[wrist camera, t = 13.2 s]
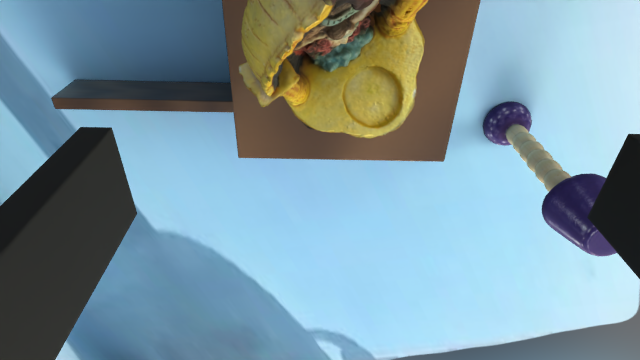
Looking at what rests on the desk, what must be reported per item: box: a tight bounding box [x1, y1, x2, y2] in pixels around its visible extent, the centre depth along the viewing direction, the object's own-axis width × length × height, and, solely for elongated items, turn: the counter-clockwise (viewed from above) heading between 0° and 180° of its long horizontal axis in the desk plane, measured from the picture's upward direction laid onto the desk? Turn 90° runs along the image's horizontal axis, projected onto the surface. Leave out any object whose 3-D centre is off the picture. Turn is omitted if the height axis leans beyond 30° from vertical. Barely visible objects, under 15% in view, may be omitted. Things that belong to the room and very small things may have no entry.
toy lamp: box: [483, 102, 617, 256], centre depth 32 cm, size 5×5×17 cm
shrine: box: [239, 0, 428, 139], centre depth 17 cm, size 12×8×15 cm
